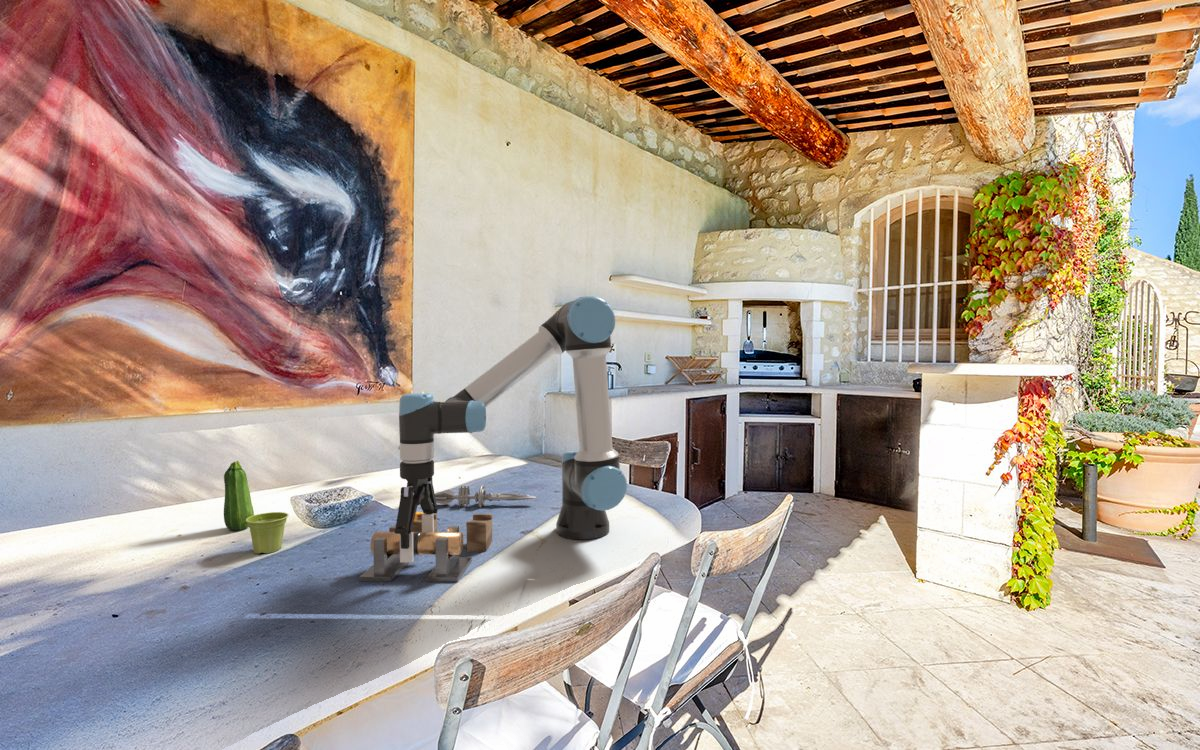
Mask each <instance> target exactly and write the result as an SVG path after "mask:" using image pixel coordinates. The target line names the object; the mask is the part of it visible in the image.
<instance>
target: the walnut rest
mask: <svg viewBox="0 0 1200 750" xmlns="http://www.w3.org/2000/svg"><path fill="white" fill-rule="evenodd" d="M433 514H434V532H438V521H437V520H438V513H433ZM422 515H423V514H418V515H417V520H416V521H414V522H413V526H412V531H411V532H422ZM465 525H466V526H465V527H466V552H487V551H488V549H489V547H490V546H491V544H492V543H493V514H492V513H473V514H472V520H470V521H469V520H467V521H466V522H465Z"/></svg>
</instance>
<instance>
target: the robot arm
mask: <svg viewBox="0 0 1200 750" xmlns="http://www.w3.org/2000/svg"><path fill="white" fill-rule="evenodd" d="M615 328H616V316H615V312H614V310H613V308H612V306H611V305H610V304H609V303H608V302H607V301H606V300H604V299H603V298H600V297H599V296H595V295H594V296H592V295H589V296H587V295H585V296H580V297H577V298H576V299H574V300H572V301H571V300H570V301H569V302H567V303H565V304H563V305H562V306H561V307H560V308H559V309H557V311H556V312H554V313H553V315H551V316H550V317H549V318H548V319H547V320H545V321H544V322H543V323H541V325H539V327H538V331H537V332H536V333H534V335H532V336H531V337H530V338H528V339H527V340H525V342H524V343H521V344H520V345H519V346H518V347H516V348H515V349H514V350H513V351H511V352H510V353H509V354H508V355H506V356H505V357H503V358H502V359H501V360H500V361H498V362H497V363H495V364H494V365H493V366H492V367H491V368H489V369H487V370H486V371H485V372H484V373H482V374H481V375H480V376H478V377H477V378H476V379H474V380H473V381H472V382H471V383H469V384H468V385H467V386H465V387H464V388H463V389H462V390H460V391H459V392H458V393H456V394H455V395H454V396H450V397H449V398H447V399H446V400H445V401H435V399H434V396H433V394H432V393H418V392H417V393H405V394H403V395H402V396H401V397H400V398H399V408H398V409H399V411H398V422H399V423H398V425H399V426H398V427H399V432H398V433H399V445H398V447H397V449H398V450H399V460H401V462H399V477H400V478H401V479H402V480H405V481H407V483H406V486H402V487H400V495H399V496H400V498H399V499H400V500H399V505H398V512H397V517H396V522H395V525H396V528H395V534H400V562H410V563H414V556H415V555H413V532H411V531H412V526H413V522H414V518H415V514H416V512H417V510H418V506H420V508H421V511H422V512H423V513H425V514H423V515H422V532H434V514H438V512H439V511H438V508H437V507H438V503H437V502H436V498H435V493H436V492H435V490H434V485H433V477H434V475H435V462H434V460H433V458H435V439H434V438H435V434H438V435H440V434H463V433H465V434H466V433H467V434H468V433H469V434H473V433H481V432H483V431H484V430H485V429H486V426H487V407H488V406H490V405H492V404H493V403H494V402H496V400H498V399H499V398H500V397H502V396H503V395H504V394H505V393H507V392H508V391H509V390H511V388H513V387H514V386H516V385H517V384H518V383H520V382H521V381H522V380H524V379H525V378H526V377H528V376H529V375H531V373H533V372H534V371H535V370H537V369H538V368H539V367H541V365H543V364H544V363H546V362H547V361H548V360H549V359H551V358H552V357H553V356H555V355H562V354H563V353H564V352H566V353H567V354H568V355H569V356H570V357H571V359H572V367H573V369H572V370H573V371H572V372H573V381H574V382H573V383H574V393H575V394H574V396H575V408H576V419H577V420H576V422H577V433H578V435H577V436H578V448H579V449H578V450H568V451H565V452H563V454H562V459H561V473H562V474H561V475H562V477H561V483H562V484H561V485H562V487H561V489H562V490H561V495H562V497H561V498H562V499H561V500H562V505H561V507H560V509H559V514H558V518H557V521H556V524H555V527H556V529H555V531H556V534H557V535H558V536H560V537H562V538H566V539H571V540H592V539H597V538H601V537H604V536H606V535H607V534H609V533H610V520H609V518H608V514H607V511H609V510H612V509H614V508H615V507H617V506H619V505H620V503H621V502H623V500H624V498H625V496H626V493H627V490H628V480H627V478H626V475H625V473H624V472H623V471H622V470H621V465H620V462H621V461H620V453H619V452H618V451H617V450H616V449H614V447H613V437H612V436H613V435H612V422H611V410H610V409H611V408H610V395H609V392H610V391H609V381H608V380H609V379H608V368H607V367H608V366H607V355H608V353H609V352H610V351H611V349H612V340H611V335H612V334H613V332H614V330H615ZM403 527H404V528H403Z"/></svg>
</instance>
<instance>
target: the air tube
mask: <svg viewBox="0 0 1200 750" xmlns="http://www.w3.org/2000/svg"><path fill="white" fill-rule="evenodd" d="M376 537H377V538H387V554H400V534H395V532H389V531H375V532H374V533H373V535H372V536H371V539H370V553H371V554H372V555H374V549H373V540H374V539H375V538H376ZM437 538H448V555H459V556H460V555H461V554H462V552H463V549H464V534H463V532H461V531H459V532H447V531H443V532H442V531H437V532H413V555H414V556H417V555H418V556H419V555H420V556H421V555H426V556H427V555H429V556H430V555H431V556H436V543H435V540H436V539H437Z"/></svg>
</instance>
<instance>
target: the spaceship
mask: <svg viewBox="0 0 1200 750" xmlns="http://www.w3.org/2000/svg"><path fill="white" fill-rule="evenodd" d="M434 493H435V498H436V503H437V504H441V505H444V506H446V505H448V504H450V503H453V501H455V500H457V501H458V507H459V506H461V507H462V506H463V507H462V508H465V507H468V504H469V505H470V502H471V500H474V501H475V503H478V506H479V507H478V508H479V509H482V507H483V506H485V505H486V501H488V502H493V501H497V502H500V501H525V500H527V501H529V500H533V499H537V496H535V495H531V494H521V493H520V494H519V493H518V494H517V493H509V492H507V493H503V492H502V493H500V492H498V493H493V492H489V493H487V492H486V488H485V485H484V484H482V485H481V486H480V487H479V490H478V492H475V494H473V495H472V494H471V492H470V486H467V487H466V486H465V485H462V486H460V487H459V488H458V494H457V495H455V492H454V491H452V490H450V489H446V490H442V491H437V492H434ZM461 504H462V505H461ZM464 504H466V505H464Z"/></svg>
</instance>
